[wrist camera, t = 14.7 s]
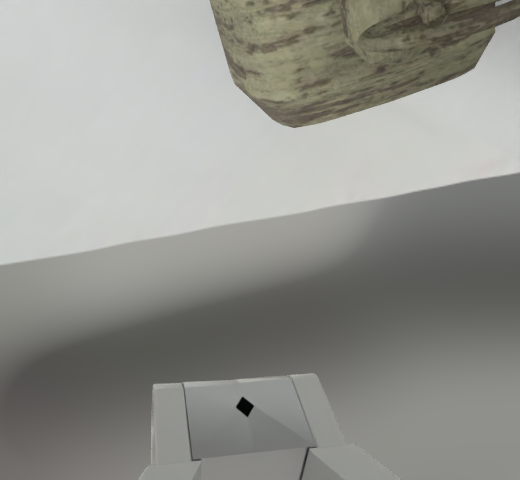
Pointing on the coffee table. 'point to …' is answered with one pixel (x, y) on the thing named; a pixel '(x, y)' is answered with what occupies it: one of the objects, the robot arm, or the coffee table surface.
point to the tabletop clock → (350, 50)
